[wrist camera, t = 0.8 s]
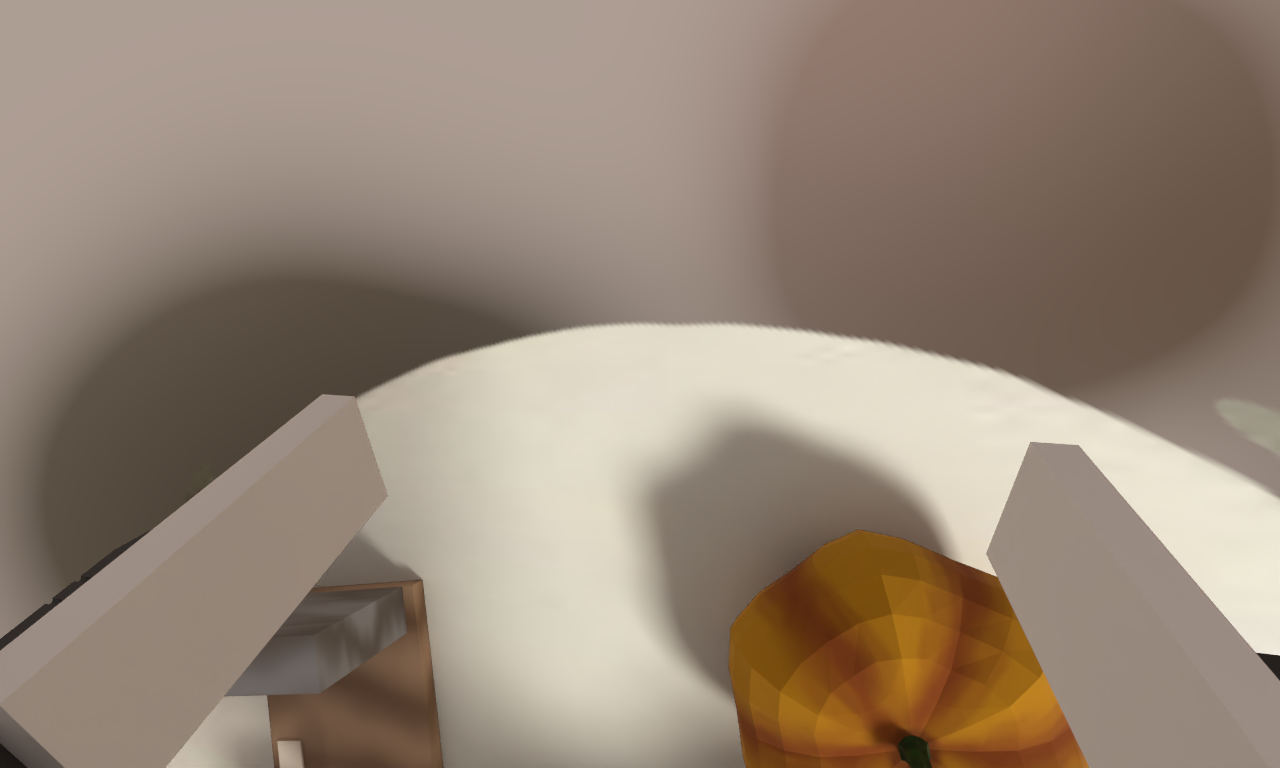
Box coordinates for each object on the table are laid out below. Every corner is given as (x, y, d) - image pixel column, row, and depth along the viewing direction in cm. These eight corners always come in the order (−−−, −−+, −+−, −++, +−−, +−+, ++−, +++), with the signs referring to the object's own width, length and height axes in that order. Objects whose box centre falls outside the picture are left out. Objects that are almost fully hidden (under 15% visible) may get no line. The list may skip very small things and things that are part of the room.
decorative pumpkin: (1094, 687, 40) (1297, 860, 25) (841, 847, 43) (888, 1085, 28) (900, 460, 42) (979, 497, 28) (676, 627, 46) (639, 739, 31)
